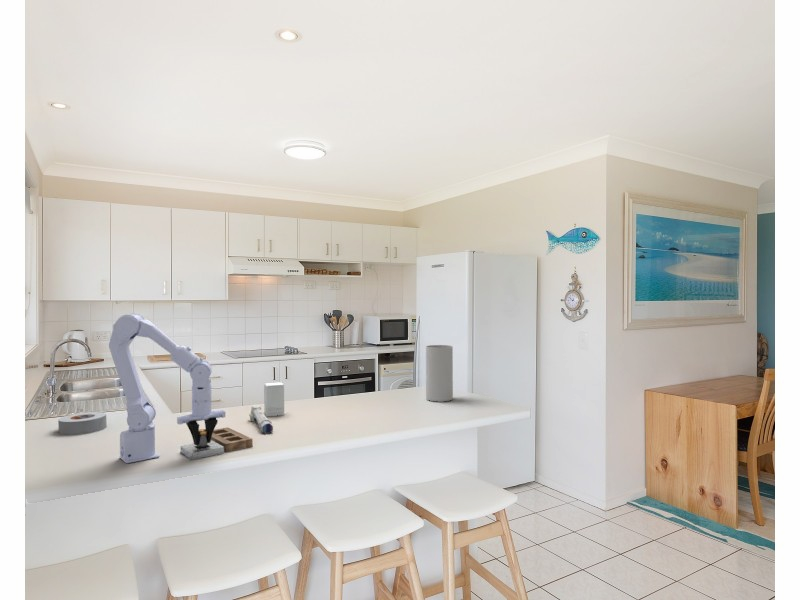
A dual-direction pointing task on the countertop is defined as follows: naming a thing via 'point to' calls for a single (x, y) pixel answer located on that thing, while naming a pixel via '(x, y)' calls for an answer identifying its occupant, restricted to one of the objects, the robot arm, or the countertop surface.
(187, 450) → the socket block
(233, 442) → the rack
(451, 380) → the cylinder vase
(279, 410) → the supplement box
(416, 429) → the countertop surface
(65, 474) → the countertop surface
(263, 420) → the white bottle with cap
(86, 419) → the tape roll
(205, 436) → the steel peg
